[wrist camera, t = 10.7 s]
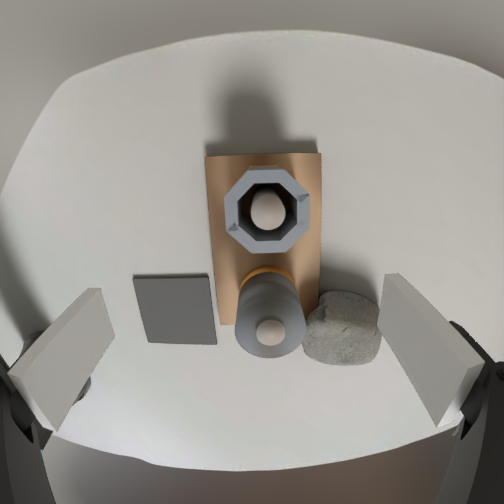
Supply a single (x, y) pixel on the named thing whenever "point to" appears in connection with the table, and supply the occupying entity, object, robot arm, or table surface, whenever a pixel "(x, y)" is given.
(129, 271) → the table surface
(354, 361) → the stone
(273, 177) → the sleeve
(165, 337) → the pad
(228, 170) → the pin board
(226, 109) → the table surface
